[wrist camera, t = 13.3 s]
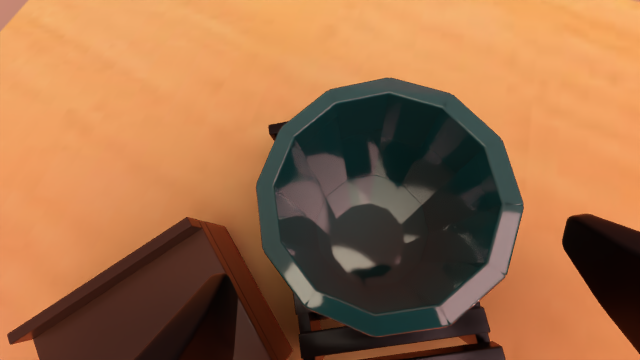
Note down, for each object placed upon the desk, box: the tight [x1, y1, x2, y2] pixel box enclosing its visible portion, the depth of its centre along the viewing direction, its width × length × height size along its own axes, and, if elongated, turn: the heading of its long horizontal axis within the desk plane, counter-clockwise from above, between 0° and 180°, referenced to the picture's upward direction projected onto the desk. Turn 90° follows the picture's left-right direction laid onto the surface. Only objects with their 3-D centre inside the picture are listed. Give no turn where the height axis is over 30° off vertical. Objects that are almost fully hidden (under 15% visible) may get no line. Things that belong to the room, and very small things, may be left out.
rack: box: [269, 121, 505, 360], centre depth 18 cm, size 13×9×5 cm
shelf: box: [7, 217, 293, 360], centre depth 18 cm, size 9×11×5 cm
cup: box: [256, 78, 524, 337], centre depth 12 cm, size 6×6×9 cm
